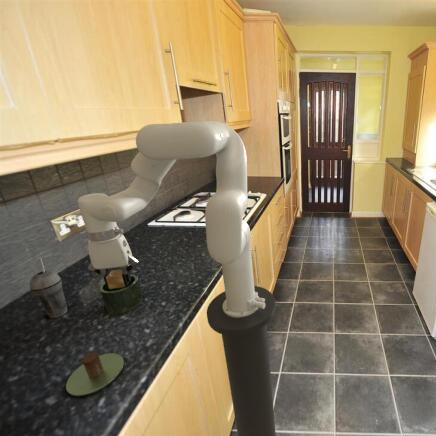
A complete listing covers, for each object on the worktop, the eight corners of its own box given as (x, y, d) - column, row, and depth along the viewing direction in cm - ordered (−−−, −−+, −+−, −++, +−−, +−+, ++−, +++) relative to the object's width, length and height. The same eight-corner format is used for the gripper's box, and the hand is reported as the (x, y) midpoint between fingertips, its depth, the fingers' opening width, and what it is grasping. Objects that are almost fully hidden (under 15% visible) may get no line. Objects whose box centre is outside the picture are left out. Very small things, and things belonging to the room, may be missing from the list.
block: (129, 279, 91) (126, 268, 90) (124, 287, 87) (120, 275, 86) (115, 281, 90) (111, 270, 89) (109, 289, 86) (105, 277, 85)
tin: (149, 297, 95) (144, 277, 92) (123, 317, 86) (116, 295, 83) (127, 292, 98) (121, 272, 95) (99, 310, 88) (91, 289, 85)
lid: (135, 362, 70) (129, 344, 67) (90, 404, 59) (82, 385, 57) (102, 352, 73) (96, 334, 71) (55, 390, 63) (46, 371, 60)
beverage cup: (37, 320, 85) (12, 265, 78) (60, 305, 91) (39, 253, 84) (56, 322, 84) (32, 266, 77) (78, 307, 90) (58, 254, 83)
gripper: (138, 226, 87) (150, 274, 94) (79, 231, 84) (96, 281, 91) (129, 235, 81) (143, 286, 87) (65, 241, 77) (84, 294, 84)
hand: (119, 283), depth 89 cm, fingers closed on block, 4 cm apart
